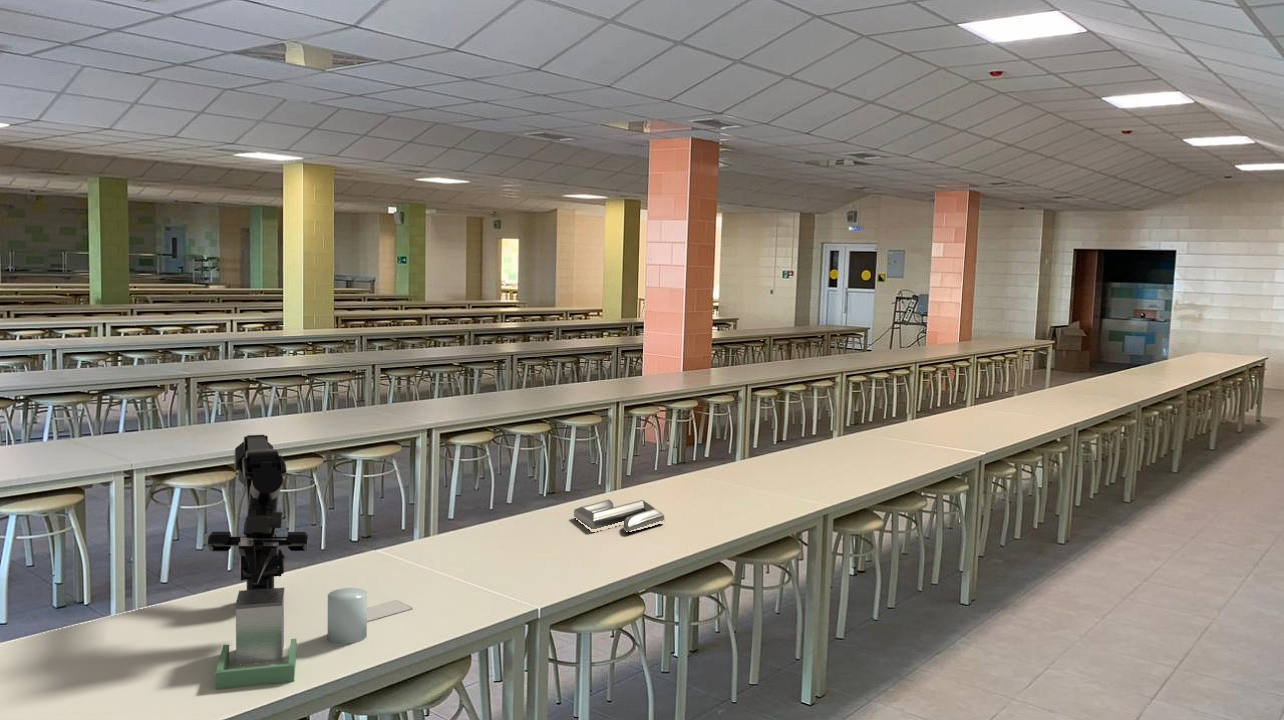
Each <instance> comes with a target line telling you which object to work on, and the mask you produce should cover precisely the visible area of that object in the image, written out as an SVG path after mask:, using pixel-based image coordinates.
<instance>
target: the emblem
mask: <svg viewBox="0 0 1284 720" xmlns="http://www.w3.org/2000/svg"><path fill="white" fill-rule="evenodd" d="M574 517H576V518H577V519H578V520H580V521H581V522H582V523H584V524H585V525H587V526H588V527H590V528H591V529H597V528H601V527H604V526H608V525H612V524H615V523H618V522H622V521H624V525H623V531H624V530H625V531H631V530H634V529H637V528H640V527H644V526H647V525H649V524H653V523H656V522H659V521H663V520H664V521H665V514H664V513H662V512H661V511H659V510H658V509H657V508H655V507H654V506H652V505H651V504H649V502H647V501H645V500H644V499H640V500H637V501H632V502H630V503H629V502H628V503H625V504H621V505H617V506H614V502H613V501H612V500H611V499H605V500H602V501H600V502H594V503H591V504H587V505H583V506H580V507H577V508H575V509H574V510H573V518H574ZM625 531H624V532H625Z"/></svg>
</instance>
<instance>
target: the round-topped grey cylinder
mask: <svg viewBox="0 0 1284 720" xmlns="http://www.w3.org/2000/svg"><path fill="white" fill-rule="evenodd" d="M367 608H368V592H367V590H365V589H363V588H359V587H343V588H339V589H338V588H337V589H335V590H332V591H330V592H329V593H328V594H327V641H328V642H329V643H331V644H333V643H334V645H340V644H346V645H352V644H357V643H360V642H362V641H364V640H365V639H367V636H368V634H367V633H368V631H367V627H368V622H367Z"/></svg>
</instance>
